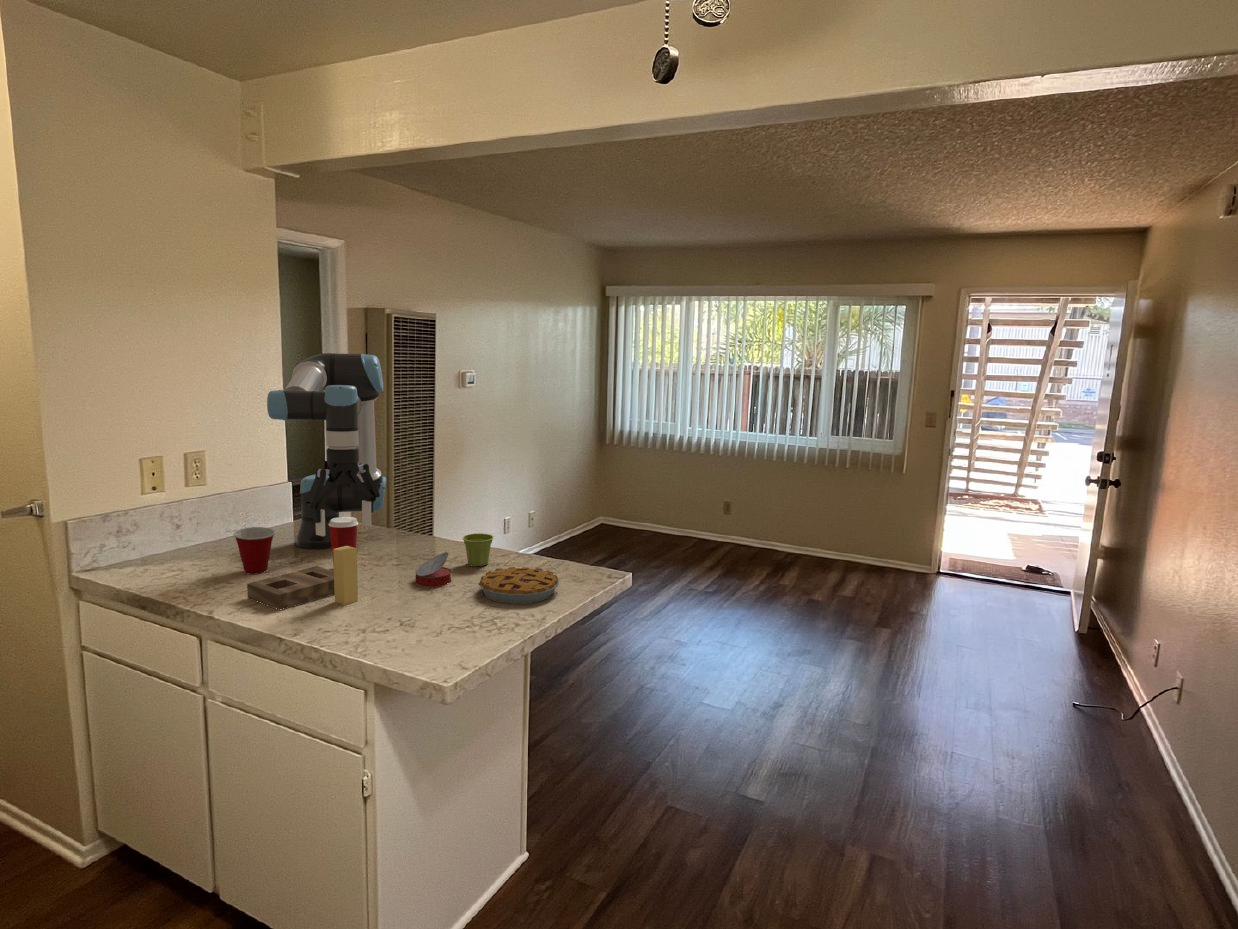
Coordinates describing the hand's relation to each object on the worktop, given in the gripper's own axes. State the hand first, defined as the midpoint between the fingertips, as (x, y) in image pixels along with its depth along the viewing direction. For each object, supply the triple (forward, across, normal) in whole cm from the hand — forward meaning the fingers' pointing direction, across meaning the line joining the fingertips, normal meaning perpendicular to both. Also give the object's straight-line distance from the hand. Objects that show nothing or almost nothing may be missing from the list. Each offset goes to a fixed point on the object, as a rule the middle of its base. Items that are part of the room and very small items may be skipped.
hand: (344, 530), depth 180 cm
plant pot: (+19, -45, +3) cm, 49 cm away
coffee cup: (+19, -17, -24) cm, 35 cm away
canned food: (+19, -25, +5) cm, 32 cm away
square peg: (+19, 0, 0) cm, 19 cm away
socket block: (+19, +4, -14) cm, 24 cm away
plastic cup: (+19, 0, -41) cm, 45 cm away
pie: (+19, -33, +30) cm, 49 cm away
